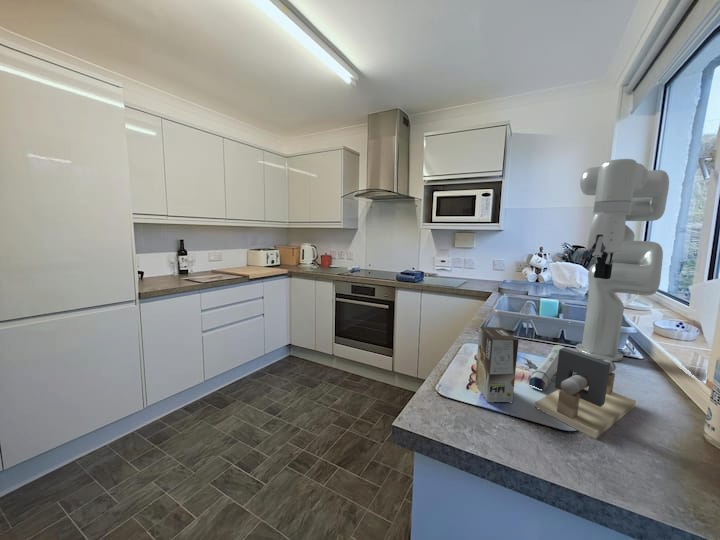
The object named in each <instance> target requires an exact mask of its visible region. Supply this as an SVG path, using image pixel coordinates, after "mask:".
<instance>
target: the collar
mask: <svg viewBox="0 0 720 540" xmlns="http://www.w3.org/2000/svg"><path fill="white" fill-rule="evenodd" d="M609 370H610V363H609V362H606V361H603V360H601V359H597V358H594V357H591V356H588V355H585V354H582V353H580V352H579V351H574V350H571V349H568V348H562V349H559V357H558V365H557V369H556V372H555V373H556V374H555V380H554V381H555V383H554V388H555V389H557V390H558V389H560V390H562V388H561V382H562V381H564V380H566V379H568V378H570V377H572V376H574V375H573V373H575V374H576V373H579V374H581V375H584V376H587V377H589V378H590V381H589V388H588V391H587V390H585V389H582V390H580V391H579V392H577V393H578V394H580V398H581V399H583V400H585V401H587V402H590V403H592V404H594V405H597V406H599V407H601V406H603V405H604V403H605V396H606V390H607V383H608V376H609Z"/></svg>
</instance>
